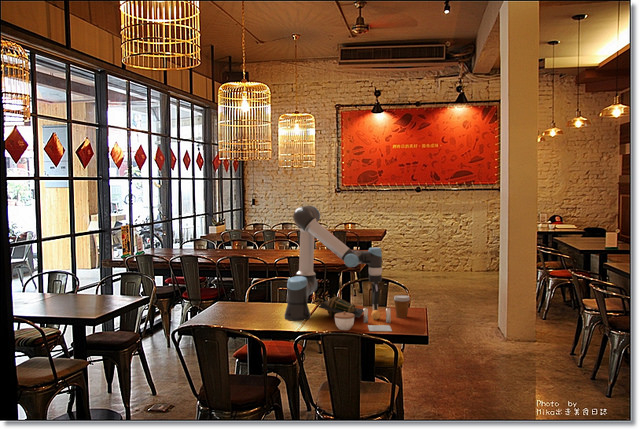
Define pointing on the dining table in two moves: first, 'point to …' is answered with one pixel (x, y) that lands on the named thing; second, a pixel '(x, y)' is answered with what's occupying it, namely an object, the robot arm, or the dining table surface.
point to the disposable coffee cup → (401, 305)
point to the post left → (365, 315)
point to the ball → (376, 314)
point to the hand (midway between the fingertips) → (375, 314)
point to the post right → (388, 315)
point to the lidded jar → (344, 320)
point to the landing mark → (379, 328)
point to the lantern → (339, 307)
